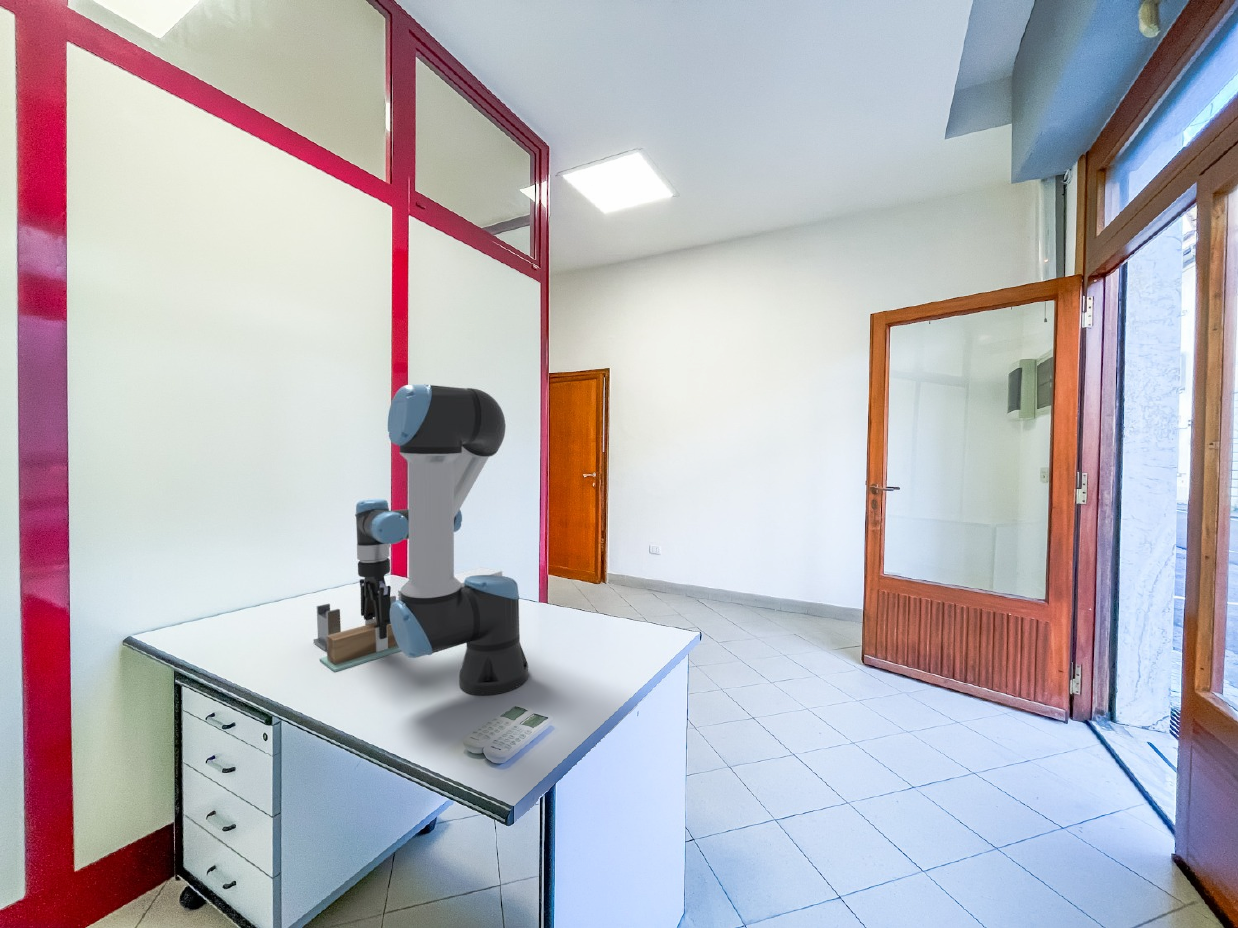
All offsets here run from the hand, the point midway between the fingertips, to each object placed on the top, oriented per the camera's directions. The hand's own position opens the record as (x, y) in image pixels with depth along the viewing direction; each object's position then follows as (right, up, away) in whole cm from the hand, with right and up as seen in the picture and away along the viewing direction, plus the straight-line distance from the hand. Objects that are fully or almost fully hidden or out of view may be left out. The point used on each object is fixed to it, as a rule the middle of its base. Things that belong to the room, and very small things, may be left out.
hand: (376, 646), depth 130 cm
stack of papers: (+11, 0, +30) cm, 31 cm away
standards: (-10, -1, +10) cm, 15 cm away
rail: (0, 0, 0) cm, 0 cm away
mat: (0, -1, 0) cm, 1 cm away
